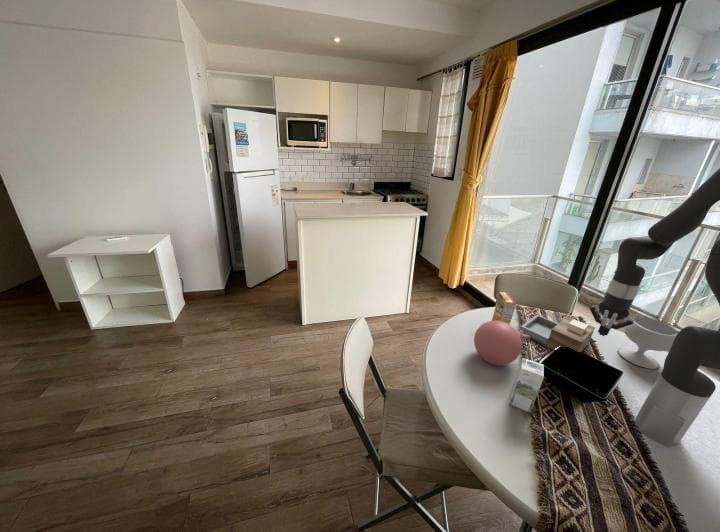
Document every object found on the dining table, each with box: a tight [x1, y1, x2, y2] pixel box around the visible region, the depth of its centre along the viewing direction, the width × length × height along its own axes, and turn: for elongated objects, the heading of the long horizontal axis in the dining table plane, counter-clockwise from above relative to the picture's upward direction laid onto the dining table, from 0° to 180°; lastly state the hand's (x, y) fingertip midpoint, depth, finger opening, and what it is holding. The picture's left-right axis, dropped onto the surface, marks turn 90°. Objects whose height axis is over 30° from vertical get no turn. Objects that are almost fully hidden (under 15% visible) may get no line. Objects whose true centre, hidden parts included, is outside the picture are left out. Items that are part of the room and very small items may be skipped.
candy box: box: [491, 291, 517, 325], centre depth 123 cm, size 9×4×15 cm, turn 175°
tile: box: [567, 318, 589, 335], centre depth 112 cm, size 5×5×2 cm
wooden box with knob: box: [545, 316, 596, 353], centre depth 115 cm, size 16×10×8 cm, turn 129°
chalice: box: [617, 316, 678, 370], centre depth 108 cm, size 14×14×15 cm
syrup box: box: [509, 357, 545, 414], centre depth 86 cm, size 6×6×14 cm
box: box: [519, 314, 559, 347], centre depth 123 cm, size 16×10×4 cm, turn 129°
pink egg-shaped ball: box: [473, 320, 530, 366], centre depth 104 cm, size 15×20×15 cm
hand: (602, 334), depth 107 cm, fingers closed
